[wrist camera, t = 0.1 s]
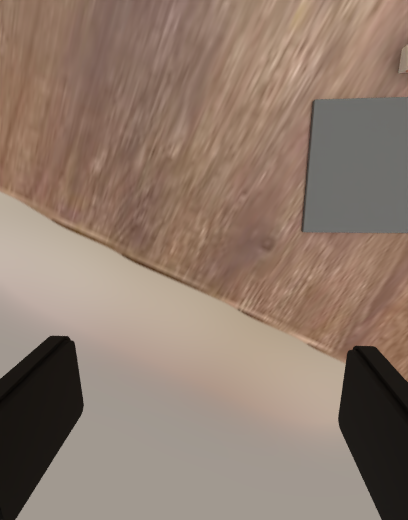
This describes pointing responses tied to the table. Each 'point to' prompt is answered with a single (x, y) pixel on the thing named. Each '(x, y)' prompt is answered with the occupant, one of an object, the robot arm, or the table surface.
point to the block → (404, 60)
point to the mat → (357, 166)
